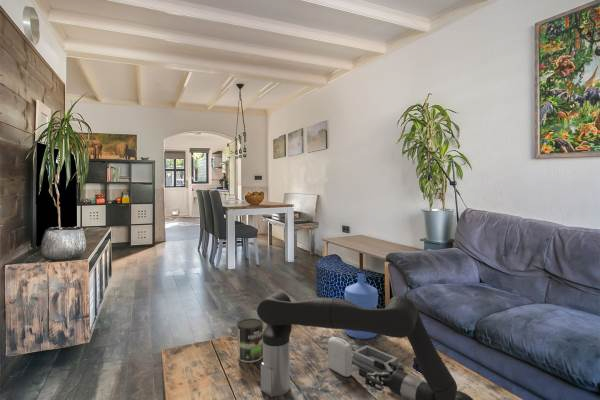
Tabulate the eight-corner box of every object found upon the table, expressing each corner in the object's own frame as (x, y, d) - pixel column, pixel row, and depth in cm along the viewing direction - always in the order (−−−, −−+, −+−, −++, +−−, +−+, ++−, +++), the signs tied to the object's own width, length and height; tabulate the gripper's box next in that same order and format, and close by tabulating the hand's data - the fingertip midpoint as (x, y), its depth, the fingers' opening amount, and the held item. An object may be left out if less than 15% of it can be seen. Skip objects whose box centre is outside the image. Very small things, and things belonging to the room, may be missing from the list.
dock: (384, 378, 130) (384, 369, 129) (348, 361, 142) (348, 352, 142) (402, 367, 138) (402, 358, 137) (366, 351, 150) (367, 343, 150)
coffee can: (267, 357, 145) (267, 323, 145) (246, 365, 139) (245, 330, 138) (254, 348, 153) (254, 316, 153) (233, 355, 147) (232, 322, 146)
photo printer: (326, 367, 138) (326, 336, 137) (334, 363, 140) (334, 333, 140) (345, 378, 130) (345, 345, 129) (353, 374, 132) (353, 342, 132)
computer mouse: (417, 379, 130) (417, 368, 130) (404, 358, 145) (404, 349, 145) (442, 378, 130) (442, 368, 130) (427, 358, 145) (427, 348, 145)
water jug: (346, 339, 161) (346, 278, 160) (343, 325, 177) (343, 270, 175) (380, 340, 161) (381, 279, 159) (374, 325, 176) (375, 270, 175)
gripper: (419, 367, 118) (379, 350, 130) (395, 384, 108) (354, 363, 120) (419, 389, 118) (378, 370, 130) (395, 407, 108) (353, 385, 121)
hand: (367, 367), depth 125 cm, fingers open, 8 cm apart
